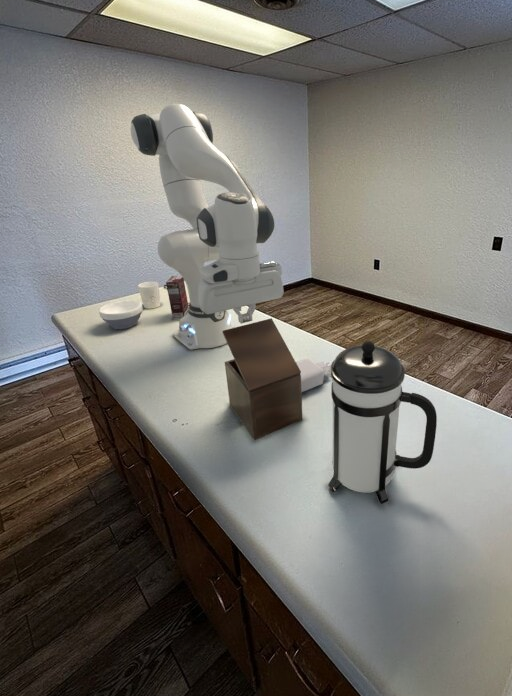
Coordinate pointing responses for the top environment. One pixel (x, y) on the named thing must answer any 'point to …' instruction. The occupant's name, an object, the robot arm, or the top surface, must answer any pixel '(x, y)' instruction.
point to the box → (264, 402)
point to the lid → (260, 354)
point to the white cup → (150, 294)
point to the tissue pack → (311, 373)
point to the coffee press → (371, 419)
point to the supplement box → (177, 297)
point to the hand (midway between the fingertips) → (245, 321)
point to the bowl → (121, 313)
